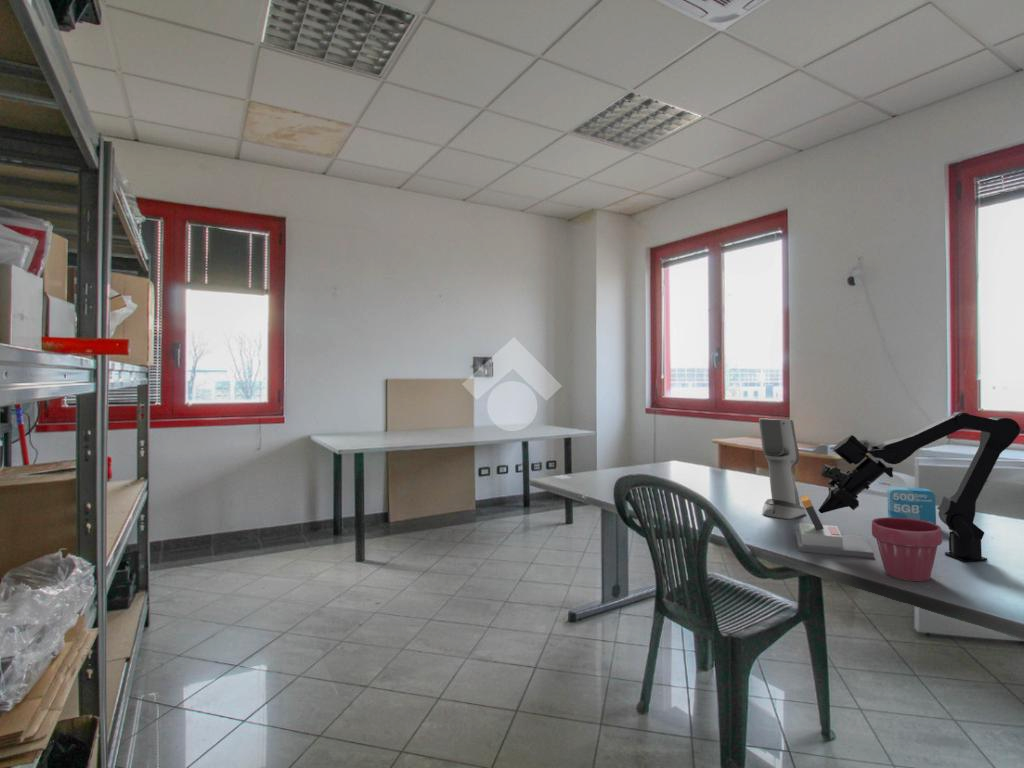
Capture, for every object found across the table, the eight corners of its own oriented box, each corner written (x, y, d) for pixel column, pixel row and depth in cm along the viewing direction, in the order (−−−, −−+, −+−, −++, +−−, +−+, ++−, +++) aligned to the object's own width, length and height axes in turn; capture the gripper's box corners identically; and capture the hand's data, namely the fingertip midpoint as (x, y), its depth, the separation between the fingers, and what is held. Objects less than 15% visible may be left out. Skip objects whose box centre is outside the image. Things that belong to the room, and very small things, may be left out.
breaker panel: (863, 541, 161) (863, 525, 161) (873, 558, 146) (873, 541, 146) (795, 535, 168) (795, 520, 168) (799, 551, 154) (798, 535, 154)
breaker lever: (821, 522, 161) (807, 494, 163) (824, 528, 155) (809, 499, 156) (813, 524, 162) (800, 496, 164) (816, 531, 156) (801, 501, 157)
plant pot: (866, 562, 143) (865, 514, 143) (930, 567, 138) (929, 518, 138) (881, 582, 130) (879, 529, 130) (952, 588, 125) (951, 533, 125)
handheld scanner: (756, 514, 195) (754, 418, 194) (775, 508, 202) (772, 415, 202) (789, 520, 185) (786, 419, 185) (807, 514, 193) (804, 416, 192)
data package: (890, 525, 175) (889, 489, 175) (888, 522, 179) (887, 486, 179) (936, 529, 170) (935, 491, 170) (932, 525, 174) (931, 488, 174)
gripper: (834, 451, 165) (795, 485, 169) (843, 460, 148) (799, 498, 152) (865, 477, 161) (824, 512, 166) (878, 490, 144) (832, 528, 149)
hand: (819, 511), depth 158 cm, fingers closed
